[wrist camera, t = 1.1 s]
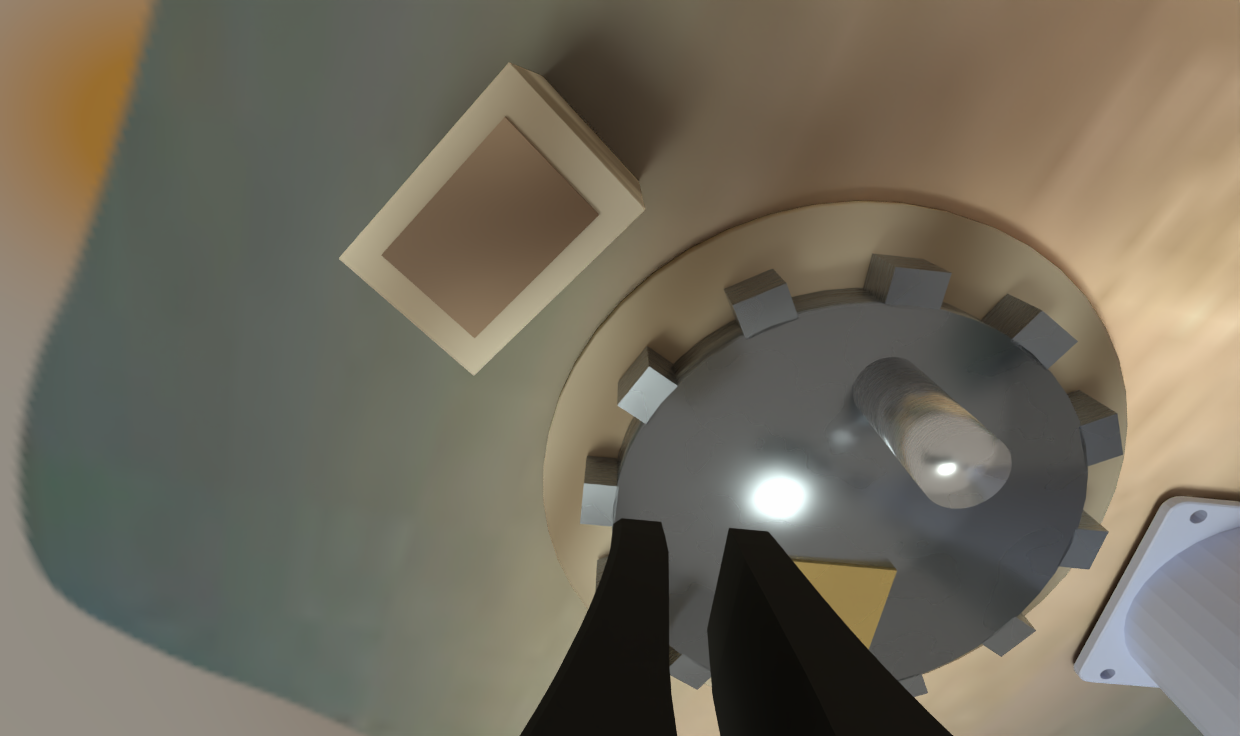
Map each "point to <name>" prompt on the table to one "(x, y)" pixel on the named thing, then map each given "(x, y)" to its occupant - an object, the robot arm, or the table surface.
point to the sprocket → (865, 461)
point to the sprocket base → (808, 262)
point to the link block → (497, 219)
